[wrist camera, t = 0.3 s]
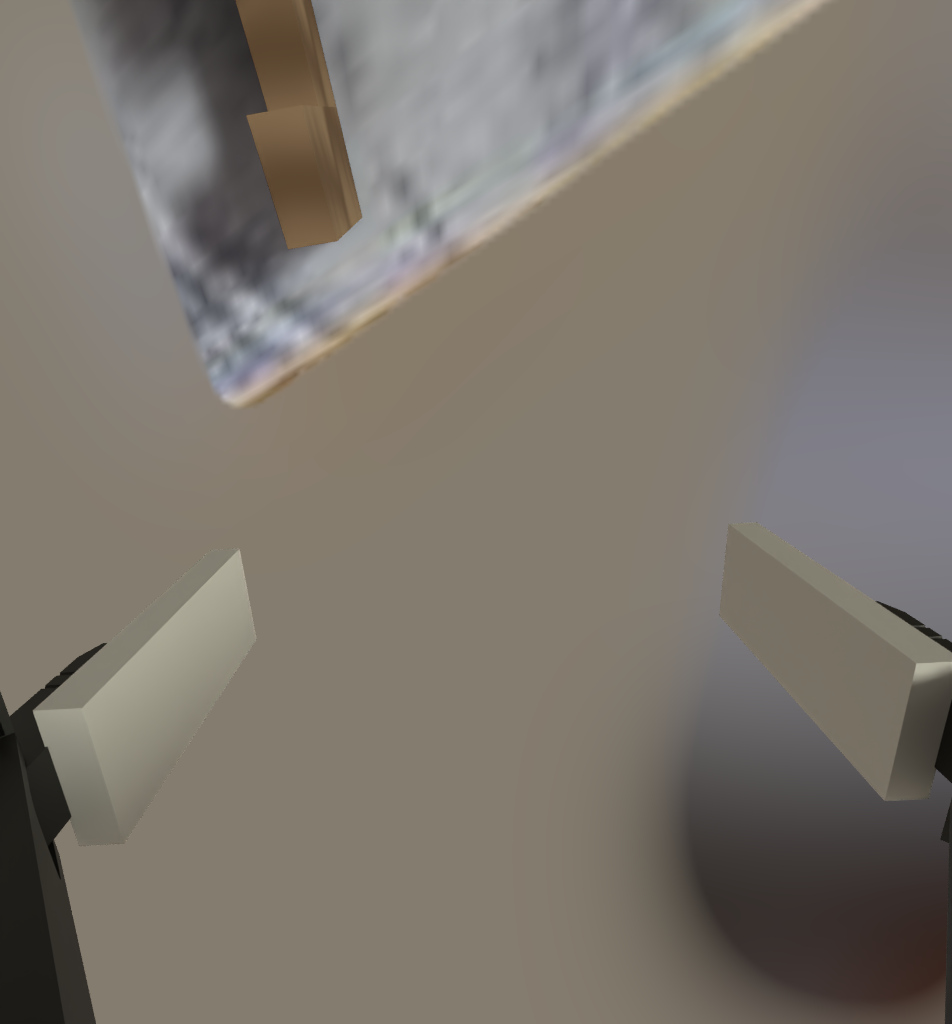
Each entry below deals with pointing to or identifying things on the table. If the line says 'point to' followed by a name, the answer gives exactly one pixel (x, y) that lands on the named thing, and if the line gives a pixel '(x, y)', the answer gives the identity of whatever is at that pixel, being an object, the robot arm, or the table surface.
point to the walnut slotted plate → (298, 124)
